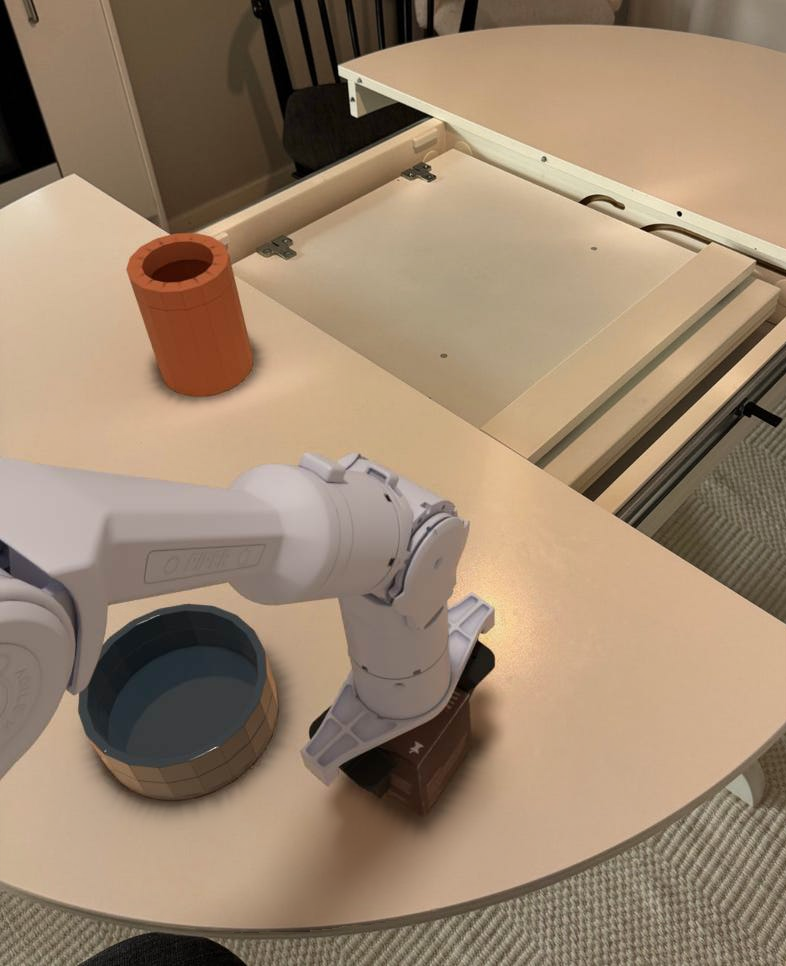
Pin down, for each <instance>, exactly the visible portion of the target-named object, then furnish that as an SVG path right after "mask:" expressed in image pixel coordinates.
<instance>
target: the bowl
mask: <svg viewBox="0 0 786 966" xmlns="http://www.w3.org/2000/svg"><path fill="white" fill-rule="evenodd" d="M77 704H78V705H77V712H78V716H79V719H80V723H81V725H82V727H83V730H84V734H85V736H86V738H87V739H88V741H89V743H91V745H92V746H93V748H94V749H95V751H96V752H97V755H98V756H99V757H100V759H101V760H102V762H103V763H104V766H106V768H107V769H109V771H110V773H112V774H113V775H114V777H115V778H116V779H117V780H118V782H120V783H121V784H122V785H123V786H125V787H126V788H128V789H129V790H131V791H133V792H135V793H137V794H139V795H141V796H144V797H148V798H151V799H157V800H163V801H179V800H180V801H181V800H189V799H193V798H197V797H201V796H205V795H207V794H210V793H213V792H215V791H217V790H219V789H221V788H223V787H225V786H227V785H228V784H231V782H233V781H235V780H236V779H237V778H239V777H240V776H241V775H243V774H244V773H245V772H246V771H247V770H249V768H250V767H251V766H252V765H253V764H254V763H256V761H257V760H258V759H259V757H260V756H261V754H262V753H263V752H264V750H265V748H266V747H267V745H268V744H269V742H270V740H271V737H272V735H273V733H274V730H275V727H276V724H277V720H278V719H277V718H278V714H279V713H278V712H279V699H278V691H277V685H276V681H275V678H274V675H273V671H272V669H271V665H270V662H269V659H268V656H267V653H266V650H265V648H264V646H263V643H262V642H261V639H260V638H259V636H258V634H257V632H256V631H255V629H254V628H252V626H250V624H248V623H247V622H245V620H243V619H242V618H241V617H240V616H239V615H238V614H235V613H234V612H231V611H228V610H226V609H223V608H220V607H218V606H215V605H212V604H211V605H208V604H198V603H197V604H196V603H182V604H177V605H171V606H166V607H161V608H157V609H154V610H152V611H150V612H147V613H146V614H143V615H140V616H139V617H136V618H134V619H132V620H130V621H129V622H127V623H126V624H124V626H123V627H121V628H120V629H118V630H117V631H115V632H114V633H113V634H112V635H110V636H109V637H108V638H107V639H106V640H105V641H104V642H103V646H102V649H101V653H100V656H99V659H98V662H97V664H96V667H95V669H94V672H93V674H92V676H91V679H90V682H89V684H88V685H87V687H86V688H85V689H84V690H82V691H81V692H80V693H78V703H77Z"/></svg>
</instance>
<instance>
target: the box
mask: <svg viewBox="0 0 786 966" xmlns="http://www.w3.org/2000/svg"><path fill="white" fill-rule="evenodd" d="M469 696H470V695H469V693H467V692H465V691H464V690H462V689H460V688H458V687H457V686H456V687H455V689H454V691H453V694H452V696H451V698H450V700H449V702H448V703H447V705H446V706H445V708H444V709H443V710H442V711H441V712H440V713H439V714H438V715H437V716H435V717H434V718H433V719H431V720H429V721H427V722H426V723H424V724H421V725H419V726H417V727H415V728H413V729H411V730H409V731H407V732H405V733H403V734H401V735H399V736H397V737H395V738H393V739H391V740H389V741H387V742H384V743H382V744H380V745H378V748H379V749H381V750H382V751H383V752H384V753H385V754H386V755H387V756H389V757H390V758H391V759H392V760H393V761H394V762H395V763H397V764H398V765H397V766H396V767H395V768H394V769H393V770H392V771H391V772H390V773H389V786H390V788H389V790H388V792H387V793H386V794H387V795H388V796H390V797H392V798H393V799H395V800H396V801H398V802H400V803H401V804H402V805H404V806H406V807H408V808H409V809H411V810H412V811H414V812H416V813H417V814H419V815H420V816H423V817H424V816H426V815H427V814H428V813H429V811H430V809H431V808H432V806H433V805H434V803H435V802H436V801H437V799H438V797H439V796H440V795H441V793H442V792H443V790H444V789H445V788H446V786H447V784H448V783H449V781H450V779H451V778H452V776H453V775H454V774H455V772H456V770H457V769H458V768H459V766H460V764H461V763H462V762H463V760H464V759H465V757H466V756H467V754H468V753H469V751H470V750H471V748H472V746H473V745H472V724H471V723H472V722H471V721H472V720H471V704H470V700H469ZM386 794H385V795H386Z"/></svg>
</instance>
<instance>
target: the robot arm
mask: <svg viewBox="0 0 786 966" xmlns="http://www.w3.org/2000/svg"><path fill="white" fill-rule="evenodd" d="M455 508H456V505H455V504H454V503H453V502H452V501H450V500H448V499H446V497H445V498H444V497H443V496H441V495H439V494H437V493H435V492H434V491H432V490H430V489H429V488H426V487H424V486H423V485H421V484H419V483H417V482H415V481H413V480H411V479H410V478H408V477H406V476H404V475H402V474H400V473H399V472H397V471H396V470H393V469H391V468H389V467H387V466H386V465H384V464H383V463H380V462H378V461H376V460H374V459H373V460H372V459H369V458H367V457H366V456H363V455H362V454H361V453H360V452H359V451H354V452H351V453H347V454H346V455H344V456H343V457H341V458H340V459H338V460H336V461H335V460H333V459H331V458H329V457H327V456H325V455H324V454H321V453H314V452H304V453H303V454H302V456H301V458H300V461H299V462H298V465H294V464H286V463H285V464H284V463H264V464H259V465H256V466H254V467H251V468H249V469H247V470H245V471H244V472H243V473H241V474H239V475H238V476H237V477H236V478H235V479H234V480H233V481H232V482H231V483H230V484H229V485H228V486H227V487H226V488H225V487H219V486H218V487H217V486H210V485H202V484H195V483H187V482H180V481H172V480H165V479H157V478H149V477H143V476H135V475H127V474H119V473H112V472H104V471H96V470H90V469H89V470H88V469H81V468H75V467H66V466H59V465H50V464H44V463H37V462H32V461H25V460H20V459H15V458H10V457H6V456H0V781H2V779H3V778H5V776H6V775H7V774H8V772H9V771H10V770H12V768H13V767H14V766H15V764H17V762H18V761H19V760H21V759H22V758H23V756H24V755H25V754H26V753H27V752H28V751H29V750H30V749H31V748H32V747H33V745H34V744H35V743H36V742H37V741H38V740H39V738H40V737H41V736H42V734H43V733H44V731H45V730H46V728H47V727H48V726H49V724H50V722H51V721H52V719H53V718H54V715H55V714H56V712H57V709H58V708H59V706H60V703H61V701H62V699H63V697H64V694H65V692H66V691H67V692H68V694H71V695H72V696H76V695H79V693H80V692H81V691H82V690H84V689H85V688H86V687H87V685H88V684H89V682H90V679H91V676H92V674H93V672H94V669H95V667H96V664H97V662H98V659H99V656H100V653H101V649H102V646H103V644H104V643H105V637H106V630H107V624H108V611H109V606H112V605H118V604H123V603H128V602H133V601H139V600H145V599H150V598H154V597H160V596H164V595H165V596H166V595H170V594H177V593H181V592H186V591H191V590H197V589H203V588H208V587H212V586H218V585H222V584H223V585H224V584H229V585H230V586H231V588H232V589H233V590H234V591H235V592H236V593H238V594H239V595H240V596H241V597H243V598H244V599H246V600H249V601H250V602H252V603H255V604H259V605H262V606H283V605H292V604H299V603H305V602H314V601H324V600H333V599H337V600H338V604H339V605H338V606H339V610H340V615H341V619H342V625H343V631H344V635H345V641H346V645H347V648H346V649H347V655H348V657H349V661H350V666H351V669H350V671H349V673H348V675H347V676H346V679H345V680H344V682H343V684H342V685H341V688H340V689H339V691H338V693H337V694H336V696H335V699H334V700H333V702H332V704H331V705H330V706H328V707H327V708H326V709H325V710H324V711H323V712H322V713H321V714H320V715H319V716H317V718H315V719H314V720H313V722H312V723H311V724H310V725H309V727H308V728H309V729H308V738H309V741H308V742H307V743H306V744H304V746H303V747H302V748H301V749H300V750H299V751H300V752H299V753H300V755H301V758H302V762H303V765H304V767H305V768H306V769H307V770H308V771H310V772H311V774H312V775H313V776H314V777H315V778H317V779H318V781H320V782H321V783H322V784H323V785H324V786H325V787H329V786H331V785H332V784H333V783H334V782H335V781H336V780H337V779H338V778H339V776H340V771H341V772H342V773H343V774H345V775H346V776H347V777H348V778H349V779H350V780H351V781H352V782H353V783H354V784H356V785H357V786H358V787H359V788H361V789H362V790H365V791H366V792H371V793H372V794H373V795H375V797H377V798H378V799H382V798H383V797H384V796H385V795H386V793H387V792H388V790H389V788H390V786H389V773H390V772H391V771H392V770H393V769H394V768H395V767H396V766H397V765H398V764H397V763H395V762H394V761H393V760H392V759H391V758H390V757H389V756H387V755H386V754H385V753H384V752H383V751H382V750H381V749H379V748H378V745H380V744H382V743H384V742H387V741H389V740H391V739H393V738H395V737H397V736H399V735H401V734H403V733H405V732H407V731H409V730H411V729H413V728H415V727H417V726H419V725H421V724H424V723H426V722H427V721H429V720H431V719H433V718H434V717H435V716H437V715H438V714H439V713H440V712H441V711H442V710H443V709H444V708H445V706H446V705H447V703H448V702H449V700H450V698H451V696H452V694H453V691H454V689H455V687H456V686H457V687H458V688H460V689H462V690H464V691H465V692H467V693H469V695H470V696H469V701H470V700H471V697H472V696H473V693H474V692H475V689H476V688H477V686H478V685H479V684H480V683H481V682H482V681H483V680H484V679H485V678H486V677H487V676H489V674H490V673H491V672H492V671H494V669H495V667H496V657H495V653H494V652H493V651H492V649H491V648H489V647H488V646H487V645H485V644H484V643H483V642H481V641H480V640H479V637H480V635H486V634H487V633H489V632H490V630H491V629H493V628H494V626H495V620H496V619H495V618H496V617H495V616H496V608H495V607H494V606H492V605H491V604H490V603H488V602H487V601H485V600H484V599H483V598H481V597H480V596H479V595H477V594H476V593H475V592H473V591H471V592H469V593H468V594H467V595H466V596H465V597H463V598H462V599H461V600H459V601H457V602H456V603H454V604H453V605H450V606H448V605H449V604H448V601H449V600H450V598H451V597H452V596H453V594H454V588H455V587H456V585H457V569H458V566H459V564H460V560H461V558H462V555H463V553H464V550H465V547H466V544H467V541H468V537H469V532H470V524H471V521H470V520H468V519H467V520H466V521H465V519H464V518H462V517H460V516H458V510H457V509H455Z"/></svg>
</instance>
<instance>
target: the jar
mask: <svg viewBox="0 0 786 966" xmlns="http://www.w3.org/2000/svg"><path fill="white" fill-rule="evenodd" d="M233 269H234V268H233V265H232V261H231V257H230V253H229V251H228V250H227V247H226V246H225V244H224V243H223V242H222V241H219V240H218V239H216V238H215V237H214V236H211V235H206V234H201V233H197V232H182V233H180V232H179V233H172V234H167V235H164V236H160V237H156V238H155V239H152V240H150V241H149V242H147V243H145V244H143V245H141V246H140V247H139V248H138V249H137V250H136V251H135V252H134V253H133V254H131V256H130V257H129V260H128V262H127V266H126V272H127V276H128V279H129V282H130V285H131V288H132V291H133V294H134V297H135V301H136V304H137V307H138V309H139V312H140V315H141V318H142V321H143V324H144V327H145V330H146V333H147V336H148V339H149V342H150V345H151V348H152V351H153V354H154V357H155V360H156V363H157V366H158V369H159V371H160V374H161V377H162V380H163V382H164V384H166V386H167V387H169V388H170V389H171V390H172V391H174V392H176V393H179V394H182V395H185V396H191V397H208V396H215V395H216V394H218V395H219V394H222V393H224V392H226V391H229V390H231V389H233V388H234V387H236V386H238V385H239V384H241V383H242V382H243V381H244V380H245V379H246V378H247V377H248V375H249V373H250V372H251V370H252V368H253V362H254V359H253V350H252V346H251V342H250V337H249V334H248V328H247V326H246V320H245V317H244V312H243V308H242V303H241V299H240V296H239V291H238V286H237V283H236V282H237V281H236V278H235V273H234V270H233Z"/></svg>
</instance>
